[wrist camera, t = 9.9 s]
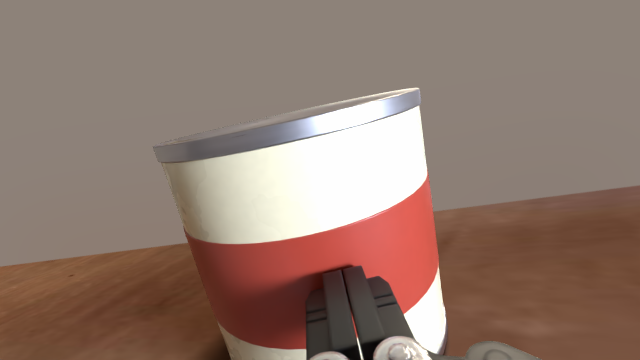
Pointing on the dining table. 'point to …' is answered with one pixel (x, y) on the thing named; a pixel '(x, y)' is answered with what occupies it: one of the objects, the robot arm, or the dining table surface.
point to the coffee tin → (309, 217)
